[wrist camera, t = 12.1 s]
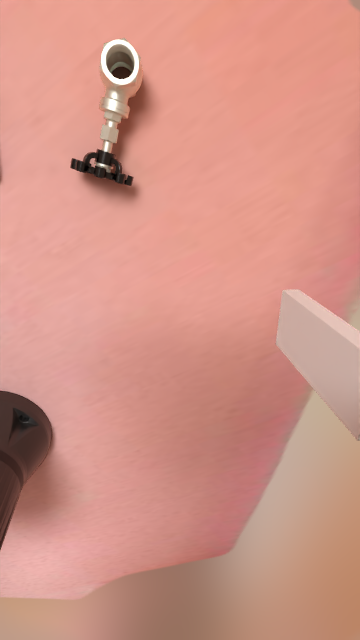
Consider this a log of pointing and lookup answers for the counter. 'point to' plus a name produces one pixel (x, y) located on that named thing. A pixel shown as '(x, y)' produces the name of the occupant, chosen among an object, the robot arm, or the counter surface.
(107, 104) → the valve
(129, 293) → the counter surface
